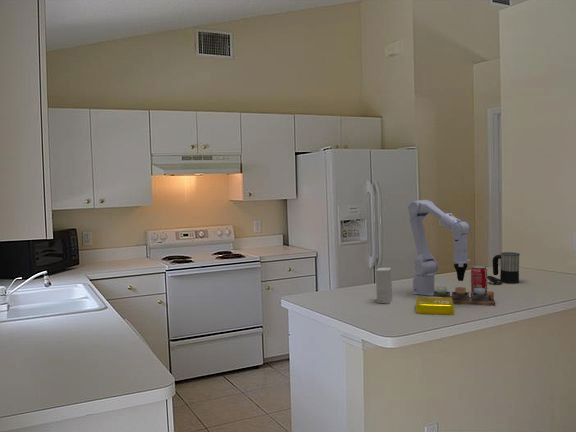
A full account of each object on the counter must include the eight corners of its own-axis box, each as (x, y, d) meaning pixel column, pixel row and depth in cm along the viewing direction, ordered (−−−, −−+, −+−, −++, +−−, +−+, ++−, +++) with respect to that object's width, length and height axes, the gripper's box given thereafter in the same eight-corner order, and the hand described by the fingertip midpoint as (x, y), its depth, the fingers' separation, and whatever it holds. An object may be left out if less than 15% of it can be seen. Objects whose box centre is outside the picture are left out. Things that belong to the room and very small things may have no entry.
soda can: (488, 296, 257) (488, 268, 256) (471, 295, 259) (472, 267, 258) (486, 292, 264) (486, 265, 263) (470, 292, 266) (470, 265, 264)
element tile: (452, 307, 240) (452, 296, 240) (454, 316, 226) (454, 304, 226) (416, 305, 244) (416, 295, 244) (415, 314, 229) (415, 303, 229)
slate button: (474, 296, 244) (474, 289, 244) (474, 294, 248) (474, 287, 248) (485, 296, 243) (485, 290, 243) (484, 294, 247) (484, 287, 247)
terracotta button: (455, 295, 246) (455, 288, 246) (455, 293, 251) (455, 286, 250) (465, 296, 245) (465, 289, 245) (465, 293, 249) (465, 287, 249)
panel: (427, 302, 247) (427, 292, 247) (428, 297, 257) (428, 287, 256) (495, 305, 239) (495, 294, 239) (493, 300, 249) (493, 289, 249)
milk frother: (521, 281, 289) (521, 252, 288) (515, 287, 276) (515, 256, 274) (492, 278, 296) (492, 250, 295) (485, 284, 283) (485, 255, 282)
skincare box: (389, 303, 247) (389, 270, 245) (376, 303, 249) (375, 269, 247) (392, 299, 255) (391, 267, 253) (378, 299, 256) (378, 266, 255)
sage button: (436, 295, 249) (436, 288, 248) (436, 292, 253) (436, 286, 252) (446, 295, 247) (446, 288, 247) (446, 293, 252) (446, 286, 251)
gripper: (470, 252, 238) (470, 284, 239) (469, 247, 252) (469, 277, 253) (453, 252, 240) (453, 283, 241) (453, 247, 254) (453, 277, 255)
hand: (460, 280), depth 247 cm, fingers closed
